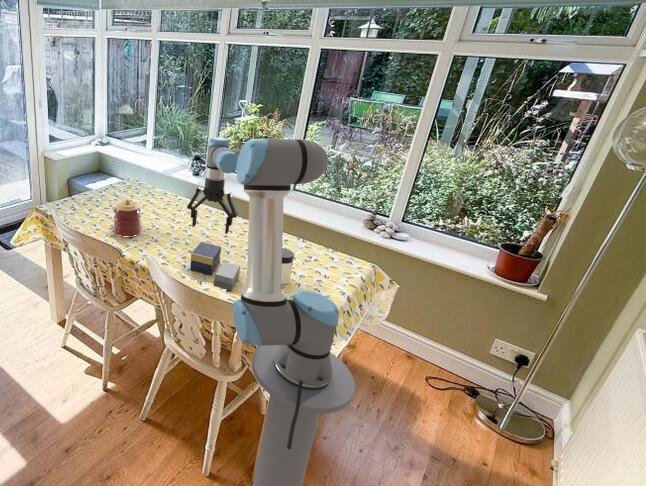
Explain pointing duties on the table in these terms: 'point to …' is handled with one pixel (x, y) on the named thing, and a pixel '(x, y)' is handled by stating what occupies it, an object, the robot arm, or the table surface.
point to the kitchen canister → (127, 218)
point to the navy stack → (204, 267)
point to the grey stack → (227, 276)
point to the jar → (286, 265)
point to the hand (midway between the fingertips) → (210, 229)
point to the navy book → (206, 253)
